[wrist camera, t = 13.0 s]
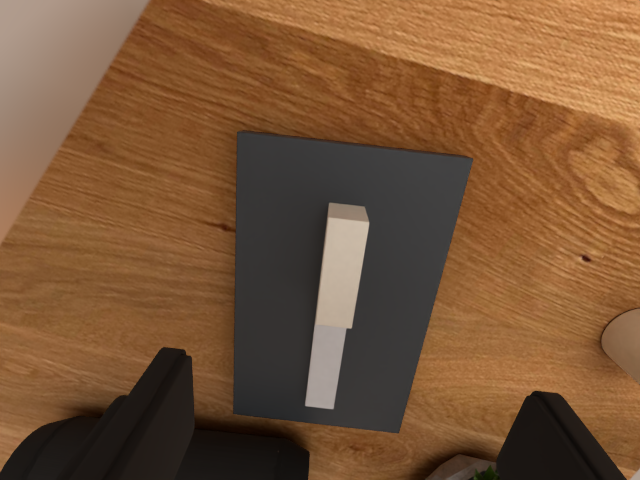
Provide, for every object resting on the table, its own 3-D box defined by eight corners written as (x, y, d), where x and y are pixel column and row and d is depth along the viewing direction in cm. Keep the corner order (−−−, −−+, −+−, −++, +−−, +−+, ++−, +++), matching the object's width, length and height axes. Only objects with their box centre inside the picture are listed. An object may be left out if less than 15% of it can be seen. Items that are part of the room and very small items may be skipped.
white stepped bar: (329, 202, 24) (327, 217, 21) (365, 206, 24) (369, 222, 21) (305, 400, 31) (301, 435, 28) (333, 403, 31) (333, 439, 28)
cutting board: (237, 401, 33) (233, 414, 32) (242, 130, 24) (236, 131, 22) (396, 420, 33) (398, 433, 32) (465, 155, 24) (473, 158, 22)
